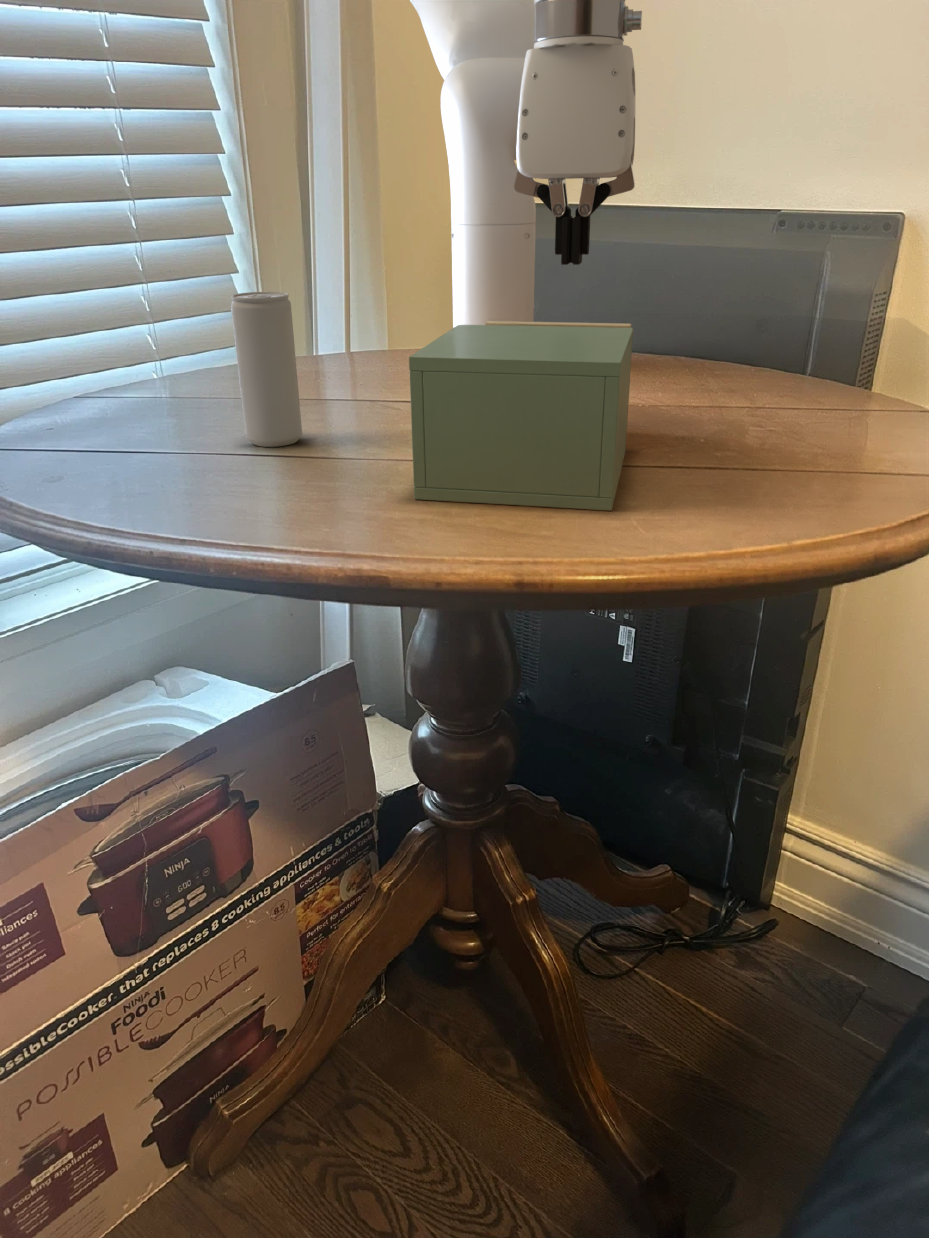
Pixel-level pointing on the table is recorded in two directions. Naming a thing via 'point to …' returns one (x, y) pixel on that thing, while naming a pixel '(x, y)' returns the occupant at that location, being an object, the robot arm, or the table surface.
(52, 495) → the table surface
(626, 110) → the robot arm
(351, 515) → the table surface
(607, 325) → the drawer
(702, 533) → the table surface
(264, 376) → the beverage can
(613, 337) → the cabinet
